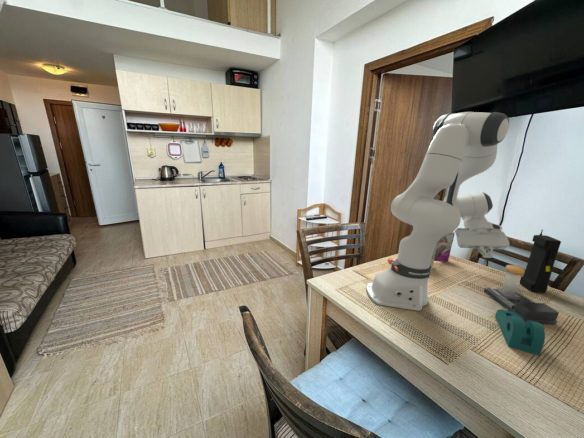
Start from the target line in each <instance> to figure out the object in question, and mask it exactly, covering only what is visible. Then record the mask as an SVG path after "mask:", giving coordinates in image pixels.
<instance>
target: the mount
mask: <svg viewBox="0 0 584 438" xmlns="http://www.w3.org/2000/svg"><path fill="white" fill-rule="evenodd" d="M496 289H497V288H492V287H491V286H487V287H485V288H484V289H483V293H484V294H486V295H488V296H489V297H490V298H492V299H493V300H494V301H495V302H497V303H498V304H499V305H501V306H502V307H503V309H505V310H508V311H511V312H513V313H516V314H517V315H519V316H520V317H522V319H523V320H524V322H525V323H526V322H527V321H533V322H537V323H541V324H542V325H550V326H551V325H552V326H553V325H554V326H556V325H557V323H558V320H557V319H558V316H559V314H560V313H559V312H558V310H555V309H554V308H552V307H551V306H549V305H548V304H546V303H545V302H543V303H542V302H534V301H533V300H531V299H530V298H528V297H527V296H525V294H524V295H523V294H522V293H520V292H519V291H517V290H516V294H517V295H518V296H520V300H514V299H506V298H505V297H503V296H502V295H500V294H499V293H498V292H496Z"/></svg>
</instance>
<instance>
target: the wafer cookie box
mask: <svg viewBox="0 0 584 438" xmlns="http://www.w3.org/2000/svg"><path fill="white" fill-rule="evenodd" d="M455 235H456V233H455V231H453V232H452V233H450V234H448V235H445V236H443V237H442V238H441V239H440V240H439V241H438V243H437V248H436V253H435V257H434V261H435V262H441V263H448V262H449V259H450V254H451V250H452V246H453V242H454V238H455Z"/></svg>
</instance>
